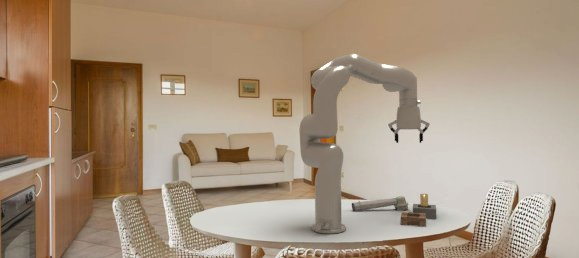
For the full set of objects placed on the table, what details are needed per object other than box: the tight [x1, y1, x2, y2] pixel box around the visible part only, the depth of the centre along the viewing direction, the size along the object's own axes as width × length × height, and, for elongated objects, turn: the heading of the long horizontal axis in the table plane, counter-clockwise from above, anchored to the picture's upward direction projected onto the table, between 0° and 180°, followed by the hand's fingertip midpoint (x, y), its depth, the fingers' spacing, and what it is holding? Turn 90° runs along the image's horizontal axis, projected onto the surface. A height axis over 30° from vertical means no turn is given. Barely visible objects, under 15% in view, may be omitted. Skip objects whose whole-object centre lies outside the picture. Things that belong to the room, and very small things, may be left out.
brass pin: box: [419, 193, 429, 208], centre depth 153 cm, size 3×3×9 cm
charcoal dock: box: [412, 203, 437, 220], centre depth 153 cm, size 9×9×4 cm
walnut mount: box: [400, 211, 427, 227], centre depth 142 cm, size 9×9×3 cm
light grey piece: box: [351, 195, 409, 212], centre depth 165 cm, size 5×7×25 cm
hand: (408, 142), depth 161 cm, fingers open, 9 cm apart
